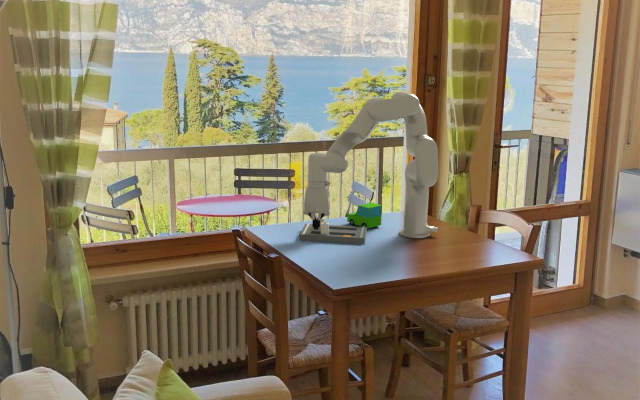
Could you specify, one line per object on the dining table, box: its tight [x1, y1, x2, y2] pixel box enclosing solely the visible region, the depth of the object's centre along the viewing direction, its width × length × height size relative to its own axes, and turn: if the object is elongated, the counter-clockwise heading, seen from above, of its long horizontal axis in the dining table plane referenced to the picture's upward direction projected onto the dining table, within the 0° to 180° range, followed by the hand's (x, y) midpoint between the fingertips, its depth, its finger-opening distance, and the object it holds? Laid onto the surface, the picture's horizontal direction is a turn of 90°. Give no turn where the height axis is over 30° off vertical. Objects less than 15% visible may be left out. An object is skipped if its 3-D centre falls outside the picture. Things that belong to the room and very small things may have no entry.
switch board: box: [298, 222, 368, 245], centre depth 261 cm, size 26×16×3 cm, turn 83°
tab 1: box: [319, 216, 326, 228], centre depth 264 cm, size 3×3×5 cm
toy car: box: [346, 202, 383, 230], centre depth 277 cm, size 10×13×10 cm
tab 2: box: [321, 221, 330, 235], centre depth 256 cm, size 3×3×5 cm
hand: (316, 228), depth 257 cm, fingers closed
